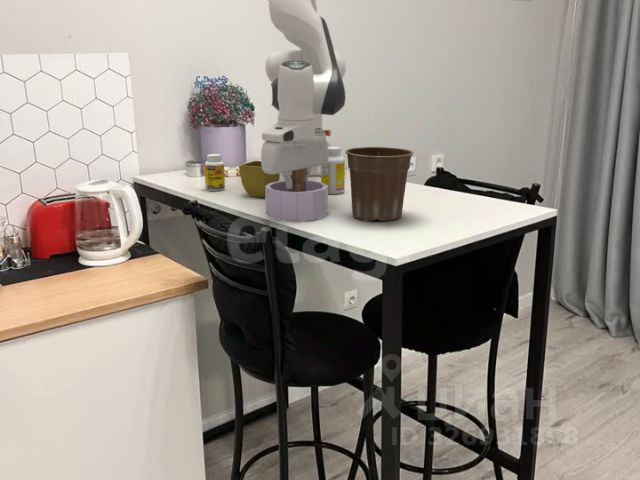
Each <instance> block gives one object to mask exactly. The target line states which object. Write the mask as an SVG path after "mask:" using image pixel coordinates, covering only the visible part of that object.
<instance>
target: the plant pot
mask: <svg viewBox="0 0 640 480" xmlns="http://www.w3.org/2000/svg"><path fill="white" fill-rule="evenodd" d="M345 154H346V155H347V157H346V158H347V168H348V169H349V177H350V196H351V198H350V199H351V214H352V217H354V218H356V219H359V220H362V221H369V222H370V221H371V222H374V221H376V220H378V221H380V222H392V221H397V220H399V219H401V218H402V214H403V208H404V207H403V206H404V201H405V191H406V187H407V178H408V173H409V172H408V171H409V170H410V167H411V159H412V156H413V155H414V151H412V150H409V149H406V148H400V147H399V148H398V147H389V146H385V147H384V146H365V147H364V146H363V147H361V146H360V147H351V148H348V149H346V150H345Z"/></svg>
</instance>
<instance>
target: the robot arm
mask: <svg viewBox="0 0 640 480" xmlns="http://www.w3.org/2000/svg"><path fill="white" fill-rule="evenodd" d="M317 7H318V6H317V0H268V10H269V17H270V20H271V23H272V24H273V26H274V27H275V28H276V29H277V31H279V32H280V33H282V35H283V36H284V37H285V39H286V40H287V41H288V42H289V43H291V44H292V45H294V46H296V47H298V48H299V50H298V49H284V50H279V51H275V52H271V53H270V54H269V55H268V57H267V59H266V61H265V73H266V76H267V78H268V80H269V81H270V82H271V84H270V86H271V95H272V96H271V98H272V99H271V101H272V103H271V106H272V107H273V108H274V109H275V110H277V111H278V115H277V123H274V124H273V125H272V126H270V127H268V128H267V129H265V130H264V131H262V132H261V139H262V141H264V142H263V143H262V145H261V158H260V161H261V166H262V170H263V171H264V173H267V174H279V173H280V174H281V177H283V181H286V188H287V189H294V188H295V182H294V181H292V179H291V175H292V171H295V170H299V169H305V168H306V186H307V180H308V179H309V178H310V176H319V177H320V176H321V165H326V164H327V162H328V159H329V156H328V147H334V146H333V145H332V144H330V142H328V141H327V137H330V136H331V135H332V131H331V129H323V115H326V116H334V115H335V114H337V113H338V112H339V111H341V110H342V109H343V108H344V106H345V104H346V98H347V97H346V95H347V92H346V87H345V85H344V81H343V79H344V77H345V74H346V62H345V58H344V57H343V56H342V55H341V54H340V52H338V51H337V50H335V49H334V45H333V42H332V39H331V33H330V31H329V27H328V25H327V22H326V20H325V18H323V17H322V16H321V15H319V14H318V8H317ZM346 170H348V165H345V171H346Z"/></svg>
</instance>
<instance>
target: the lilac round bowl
mask: <svg viewBox="0 0 640 480" xmlns="http://www.w3.org/2000/svg"><path fill="white" fill-rule="evenodd" d="M264 198H265V200H264V201H265V215H266V214H267V215H268V216H269V217H271V218H270V219H272V218H275V219H274V220H276V219H279V220H278V221H280V220H286V221H285V222H294V221H300V222H304V221H303V220H313V221H315V219H317V220H319V218H320V219H323V218H324V219H325V217H326V216H327V215H329V194H328V186H327V185H326V184H324V183H321V181H316V180H315V181H314V180H308V179H307V186H306V191H304V192H288V189H287V188H286V181H285V180H279V181H278V182H273V183H269V184H268V185H266V186H265V197H264ZM267 215H266V216H267ZM268 216H267V217H268ZM269 217H268V218H269Z"/></svg>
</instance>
